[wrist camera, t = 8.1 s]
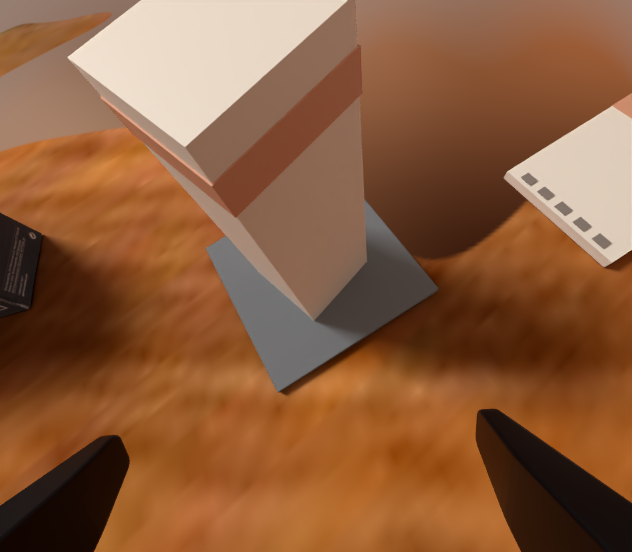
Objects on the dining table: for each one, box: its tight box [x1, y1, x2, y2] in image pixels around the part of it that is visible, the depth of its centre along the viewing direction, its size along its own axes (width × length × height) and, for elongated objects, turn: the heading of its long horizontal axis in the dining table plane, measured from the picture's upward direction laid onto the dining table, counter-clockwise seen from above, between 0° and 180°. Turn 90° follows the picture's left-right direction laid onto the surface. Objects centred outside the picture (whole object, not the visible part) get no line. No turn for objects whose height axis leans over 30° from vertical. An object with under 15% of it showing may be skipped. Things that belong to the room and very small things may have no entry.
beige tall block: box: [68, 0, 367, 320], centre depth 13 cm, size 5×5×13 cm
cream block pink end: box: [504, 93, 632, 267], centre depth 18 cm, size 10×7×1 cm
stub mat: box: [206, 199, 439, 392], centre depth 19 cm, size 10×10×1 cm
